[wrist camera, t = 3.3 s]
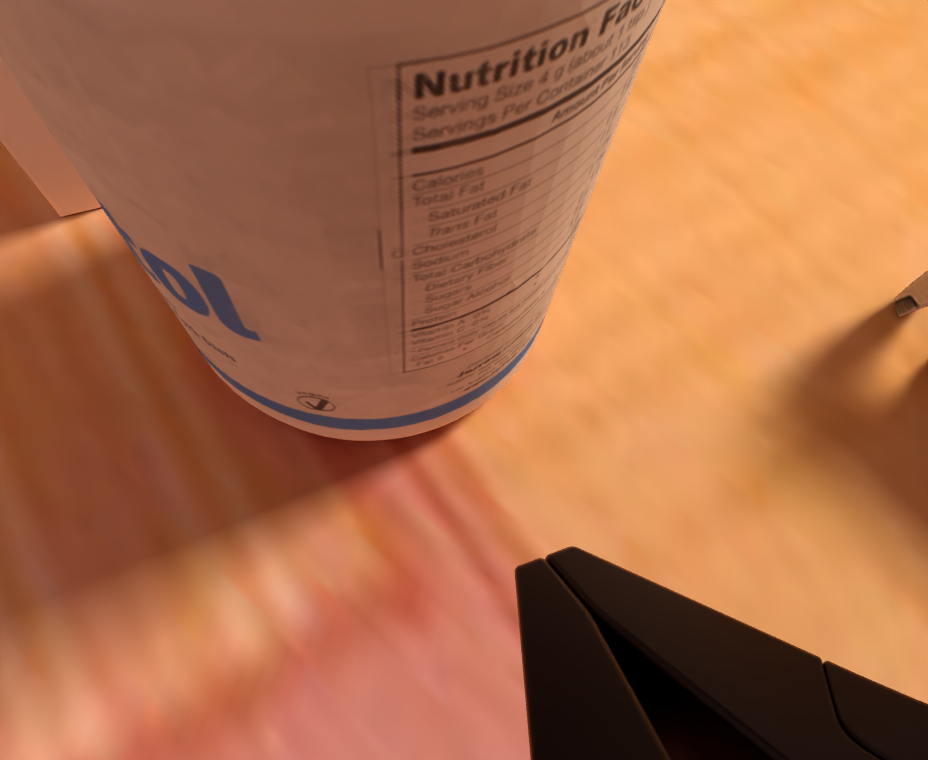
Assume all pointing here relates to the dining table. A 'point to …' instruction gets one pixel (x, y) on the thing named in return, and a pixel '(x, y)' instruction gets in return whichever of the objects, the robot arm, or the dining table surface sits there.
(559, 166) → the supplement tub
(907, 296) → the caliper
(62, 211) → the cradle
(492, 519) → the dining table surface
